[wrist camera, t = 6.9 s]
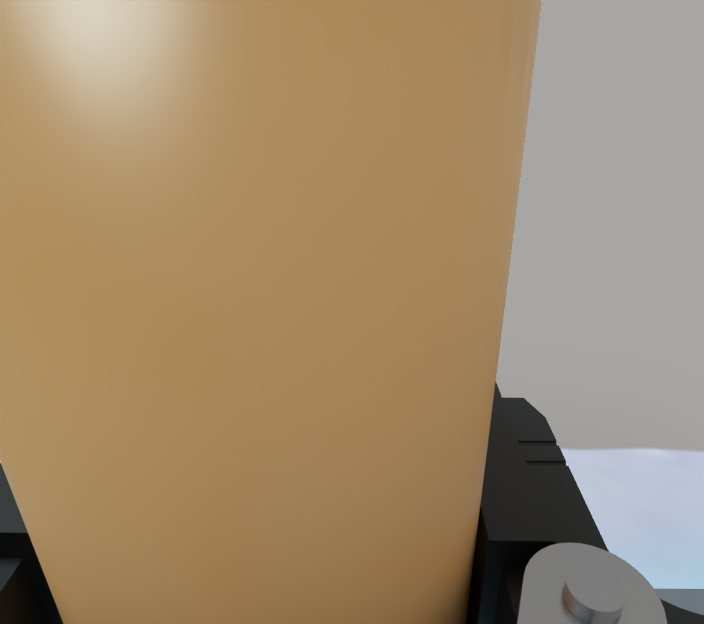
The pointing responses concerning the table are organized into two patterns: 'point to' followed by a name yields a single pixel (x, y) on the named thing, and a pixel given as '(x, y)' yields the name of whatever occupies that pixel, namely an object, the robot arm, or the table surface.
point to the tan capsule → (256, 299)
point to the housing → (684, 598)
